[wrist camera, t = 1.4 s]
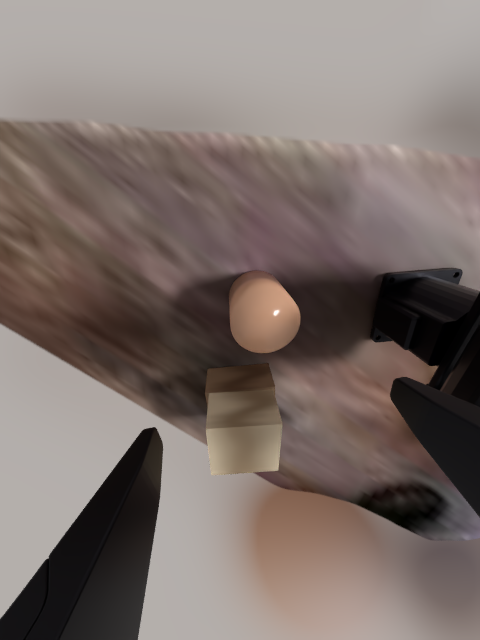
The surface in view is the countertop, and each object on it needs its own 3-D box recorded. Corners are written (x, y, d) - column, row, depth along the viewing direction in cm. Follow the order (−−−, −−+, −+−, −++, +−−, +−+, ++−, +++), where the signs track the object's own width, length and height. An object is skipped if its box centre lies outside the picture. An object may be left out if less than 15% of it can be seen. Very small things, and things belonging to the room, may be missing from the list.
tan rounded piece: (283, 268, 18) (302, 286, 14) (281, 319, 20) (298, 350, 16) (226, 272, 18) (227, 292, 13) (231, 323, 20) (233, 355, 15)
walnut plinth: (267, 362, 22) (275, 386, 19) (268, 405, 25) (274, 433, 22) (207, 367, 22) (204, 393, 19) (214, 411, 25) (213, 440, 22)
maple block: (273, 389, 19) (282, 424, 16) (270, 433, 22) (278, 470, 18) (208, 393, 19) (205, 429, 16) (213, 436, 21) (211, 475, 18)
